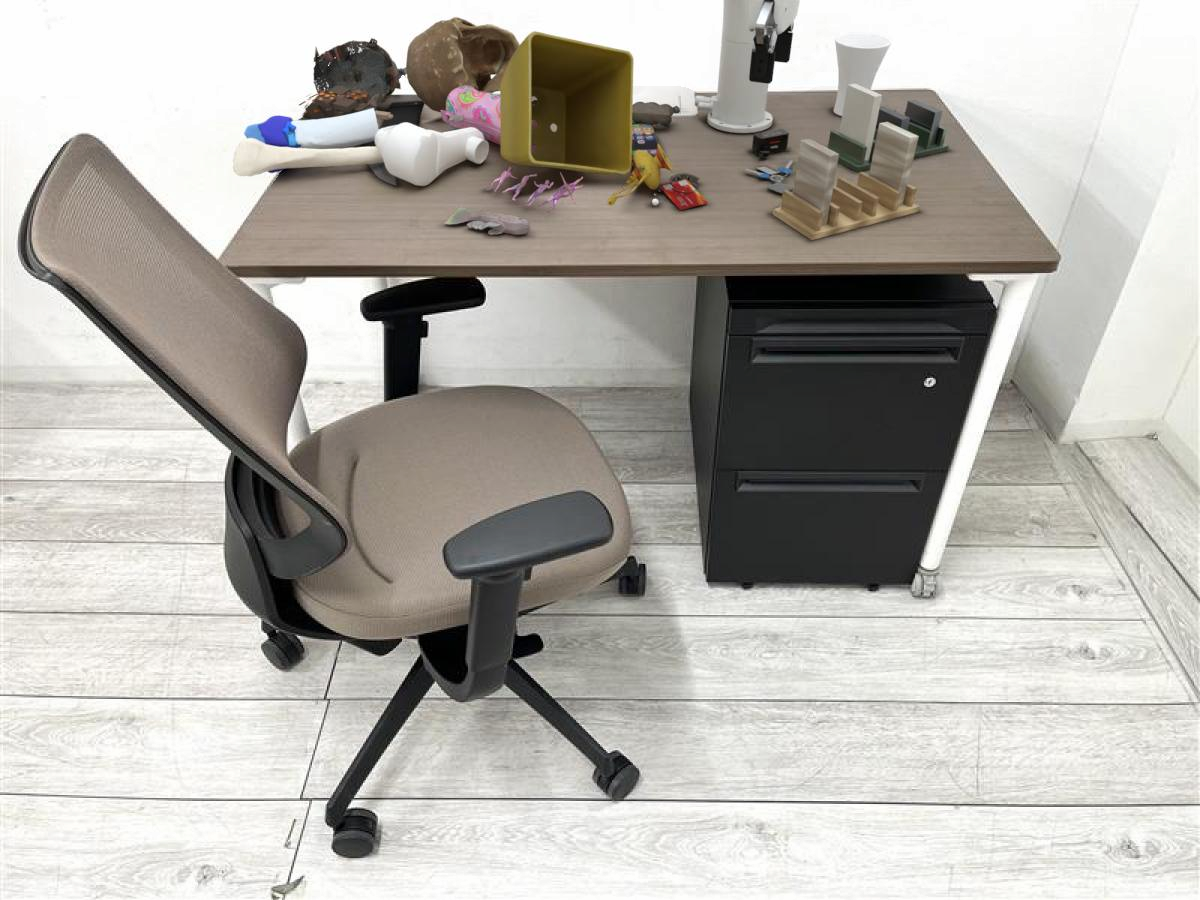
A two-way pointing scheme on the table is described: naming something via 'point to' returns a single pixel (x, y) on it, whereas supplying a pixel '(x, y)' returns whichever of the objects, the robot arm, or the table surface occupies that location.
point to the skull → (458, 59)
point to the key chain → (778, 182)
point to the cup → (858, 61)
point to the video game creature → (339, 104)
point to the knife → (381, 168)
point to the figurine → (358, 70)
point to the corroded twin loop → (689, 177)
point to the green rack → (915, 120)
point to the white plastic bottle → (427, 150)
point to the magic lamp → (644, 171)
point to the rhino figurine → (653, 113)
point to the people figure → (541, 188)
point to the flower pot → (568, 105)
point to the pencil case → (476, 113)
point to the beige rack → (850, 187)
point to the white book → (860, 115)
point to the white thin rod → (655, 201)
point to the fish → (490, 221)
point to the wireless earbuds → (770, 142)
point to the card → (683, 194)
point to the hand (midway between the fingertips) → (769, 71)
